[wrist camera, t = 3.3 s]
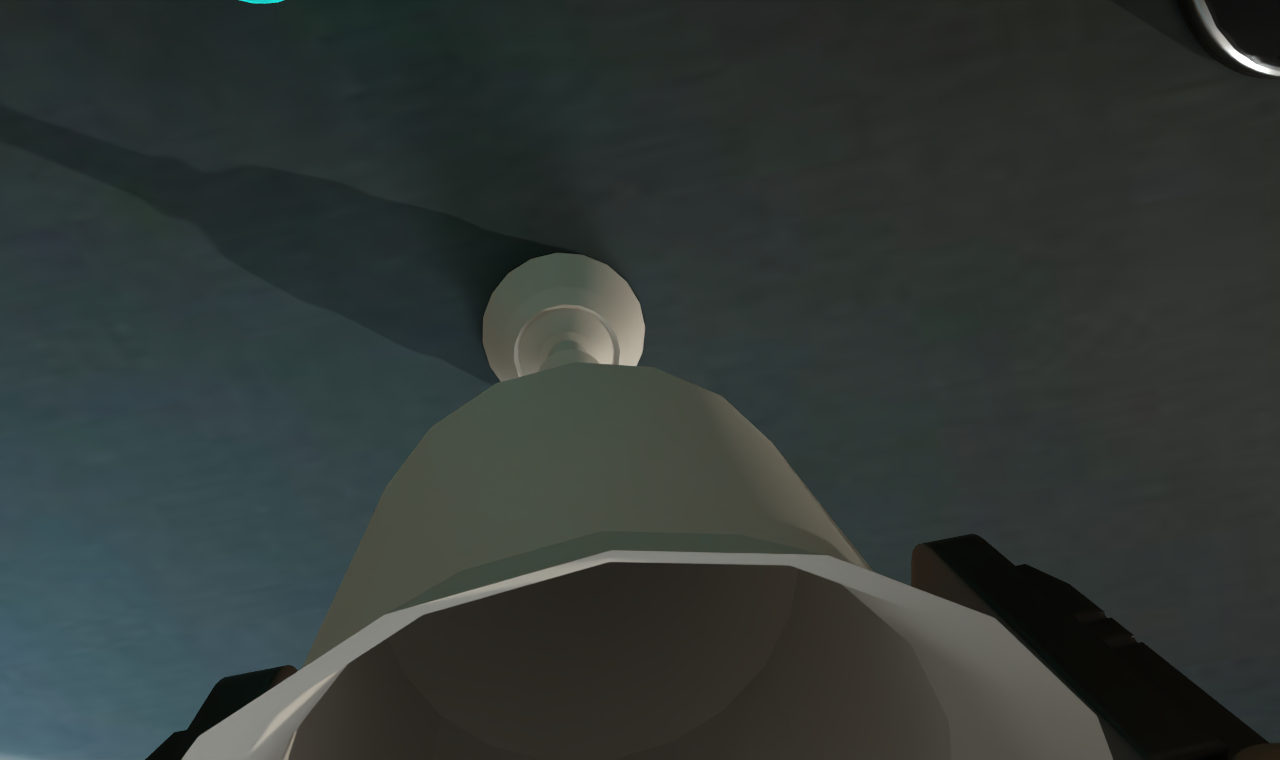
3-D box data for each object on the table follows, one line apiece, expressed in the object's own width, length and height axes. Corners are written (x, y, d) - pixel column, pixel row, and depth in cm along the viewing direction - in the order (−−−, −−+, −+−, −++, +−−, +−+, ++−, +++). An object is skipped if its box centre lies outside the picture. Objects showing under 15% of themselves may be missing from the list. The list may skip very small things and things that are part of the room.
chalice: (677, 431, 23) (1058, 1220, 6) (470, 453, 22) (243, 1429, 5) (666, 206, 21) (1248, 466, 4) (434, 223, 20) (-193, 653, 3)
